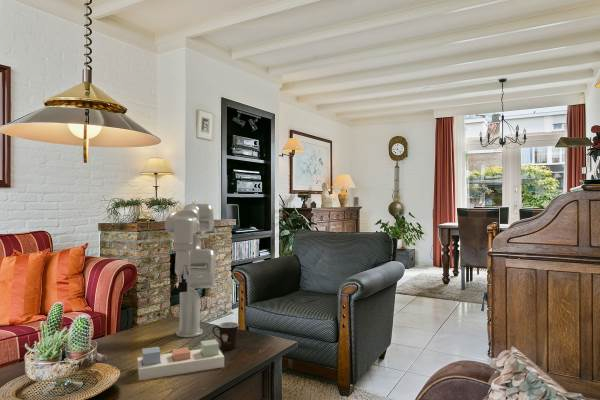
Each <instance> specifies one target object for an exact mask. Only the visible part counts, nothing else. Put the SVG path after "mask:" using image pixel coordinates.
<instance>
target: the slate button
mask: <svg viewBox="0 0 600 400" xmlns="http://www.w3.org/2000/svg"><path fill="white" fill-rule="evenodd" d="M141 354H142V355H141V357H142V364H143V366H146V365H153V364H159V363H160V355H161V349H160V346H153V347H147V348H146V347H145V348H142V349H141Z"/></svg>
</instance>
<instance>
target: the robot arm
mask: <svg viewBox="0 0 600 400" xmlns="http://www.w3.org/2000/svg"><path fill="white" fill-rule="evenodd" d="M214 227H215V217H214V209H213V207H212V206H211V205H210V204H209V203H188V204H186V205H185V206H184V207H183V209H182V210H179V211H174V212H171V213H170V214H168V216H167V217H166V219H165V222H164V229H165V232H166V233H167V234H170V235H174V236H173V246H174V247H173V251H174V252H175V259H174V260H175V261H174V262H175V264H174V273H175V275H176V276H178V277H177V281H178V292H179V329H177V330H176V331H175V335H176V337H177V336H178V337H180V338H193V337H198V336H201V335H202V334H203V333H204V331H203V329H202V328H200V323H201V322H200V321H201V320H200V319H201V317H200V315H201V313H200V312H201V310H200V309H201V297H200V295H199V293H198V291H197V290H196V289H210V288H213V287H214V286H215V282H216V253H215V251H214V250H213V249H211V248H202V240H201V239H200V238H199V236H198V235H197V234H196V233H197V232H205V233H206V232H211V231H213V230H214Z"/></svg>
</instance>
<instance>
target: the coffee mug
mask: <svg viewBox="0 0 600 400" xmlns="http://www.w3.org/2000/svg"><path fill="white" fill-rule="evenodd" d="M216 328H217V329H218V331H219V336H218V335H217V334H216V333H215V329H216ZM212 334H213V335H214V336H215V337H216V338H217V339H218V340H220V347H221V348H220V350H223V351H231V350H236V348H237V340H238V334H239V323H237V322H235V321H226V322H222V323H219V324H218V326H217V325H215V326H213V328H212Z"/></svg>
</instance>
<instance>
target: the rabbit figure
mask: <svg viewBox="0 0 600 400" xmlns="http://www.w3.org/2000/svg"><path fill="white" fill-rule="evenodd" d="M107 358H108V354H105V353H103V354H101V353H98V352H97V361H96V362H102V361H103V360H104V359H105V360H104V361H105V362H106V361H107Z"/></svg>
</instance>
